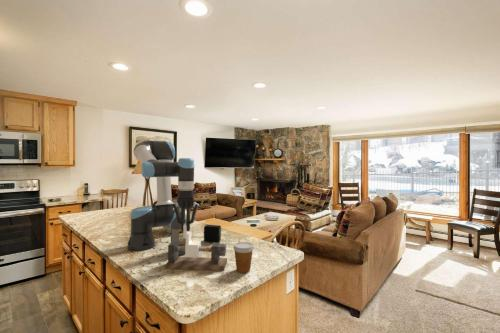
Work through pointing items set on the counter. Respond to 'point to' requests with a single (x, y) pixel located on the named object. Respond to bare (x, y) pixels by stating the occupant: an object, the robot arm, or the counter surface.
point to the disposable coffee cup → (243, 256)
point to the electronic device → (212, 233)
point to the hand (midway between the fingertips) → (185, 237)
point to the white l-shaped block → (192, 246)
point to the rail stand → (199, 262)
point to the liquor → (178, 233)
